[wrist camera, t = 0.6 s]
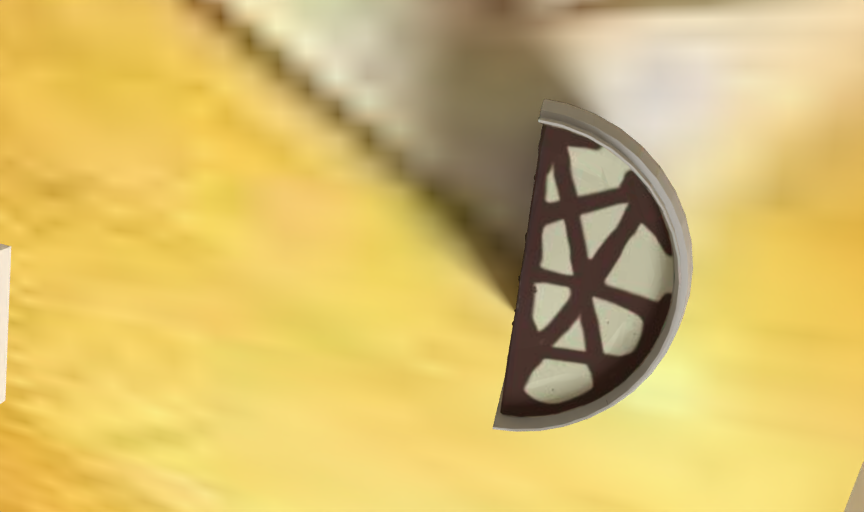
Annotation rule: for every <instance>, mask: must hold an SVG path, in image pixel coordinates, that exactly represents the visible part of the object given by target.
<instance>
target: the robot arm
mask: <svg viewBox="0 0 864 512" xmlns="http://www.w3.org/2000/svg"><path fill="white" fill-rule="evenodd" d="M10 262H11V246H7V245H3V244H0V404H1V403H2V402H4V401H5V393H6V367H7V340H8V314H9V288H10ZM844 512H864V462H863V464H862V467H861V469H860V472H859V474H858V477H857V479H856V482H855V485H854V487H853V490H852V492H851V495H850V497H849V500H848V503H847V505H846V508H845V510H844Z"/></svg>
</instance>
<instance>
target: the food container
mask: <svg viewBox="0 0 864 512" xmlns="http://www.w3.org/2000/svg"><path fill="white" fill-rule="evenodd" d="M538 122H540V123H542V124H543V127H542V131H541V138H540V142H539V146H538V162H537V169H536V174H535V176H534V180H535V182H534V188H533V195H532V201H531V208H530V215H529V223H528V230H527V233H526V235H525V242H526V243H525V250H524V256H523V263H522V269H521V275H520V276H519V289H518V296H517V303H516V309H515V310H514V311H515V316H514V321H513V322H512V325H513V328H512V334H511V340H510V347H509V353H508V358H507V367H506V373H505V378H504V383H503V387H502V391H501V395H500V399H499V404H498V408H497V412H496V416H495V420H494V425H493V429H497V430H507V431H541V430H547V429H553V428H558V427H564V426H567V425H570V424H573V423H576V422H579V421H582V420H585V419H588V418H590V417H592V416H594V415H596V414H598V413H600V412H602V411H604V410H606V409H608V408H610V407H612V406H614V405H615V404H617V403H618V402H619V401H621V400H622V399H624V398H625V397H626V396H628V395H629V394H631V393H632V392H633V391H634V390H635V389H636V388H637V387H638V386H639V385H640V384H641V383H642V382H643V381H644V380H645V379H647V378H648V377H649V376H650V375H651V374H652V372H653V371H654V369H655V368H656V367H657V365H658V364H659V362H660V361H661V360H662V358H663V357H664V356H665V354H666V353H667V351H668V349H669V347H670V345H671V343H672V341H673V339H674V337H675V335H676V333H677V331H678V328H679V326H680V324H681V321H682V319H683V315H684V312H685V309H686V305H687V302H688V298H689V295H690V288H691V279H692V271H693V261H692V243H691V237H690V233H689V229H688V224H687V220H686V215H685V213H684V211H683V208H682V206H681V203H680V201H679V198H678V196H677V194H676V191H675V189H674V188H673V186H672V185H671V183H670V181H669V180H668V178H667V177H666V175H665V173H664V172H663V170H662V169H661V167H660V166H659V165H658V164H657V162H656V161H655V160H654V159H653V158H652V157H651V156H650V155H649V153H648V152H647V151H646V150H645V149H644V148H643V147H642V146H641V145H640V144H639V143H638V142H636V141H635V140H634V139H633V138H632V137H630V136H629V135H628V134H627V133H625V132H624V131H623V130H622V129H620V128H619V127H617V126H615V125H614V124H612V123H610V122H608V121H607V120H605V119H603V118H601V117H600V116H598V115H596V114H594V113H591V112H589V111H586V110H583V109H581V108H578V107H575V106H573V105H570V104H566V103H562V102H557V101H552V100H548V99H544V101H543V104H542V107H541V111H540V117H539V119H538Z"/></svg>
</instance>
